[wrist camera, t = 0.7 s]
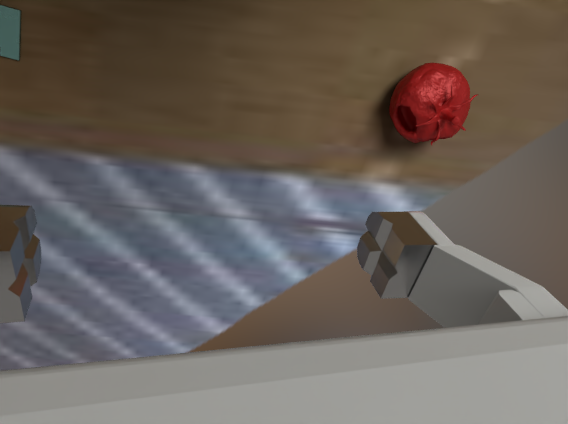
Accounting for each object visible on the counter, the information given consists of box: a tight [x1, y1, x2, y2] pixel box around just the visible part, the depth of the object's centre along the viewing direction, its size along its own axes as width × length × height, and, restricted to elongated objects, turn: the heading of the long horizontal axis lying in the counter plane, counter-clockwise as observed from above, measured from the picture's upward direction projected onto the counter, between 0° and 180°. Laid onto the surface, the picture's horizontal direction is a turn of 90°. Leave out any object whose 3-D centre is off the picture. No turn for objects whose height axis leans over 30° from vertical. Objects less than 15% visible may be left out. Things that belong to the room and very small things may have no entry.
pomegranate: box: [389, 63, 477, 145], centre depth 50 cm, size 10×10×9 cm
